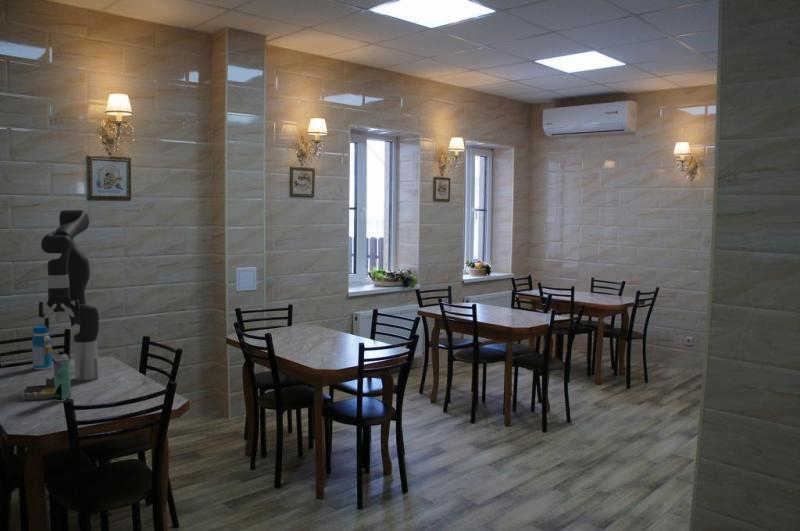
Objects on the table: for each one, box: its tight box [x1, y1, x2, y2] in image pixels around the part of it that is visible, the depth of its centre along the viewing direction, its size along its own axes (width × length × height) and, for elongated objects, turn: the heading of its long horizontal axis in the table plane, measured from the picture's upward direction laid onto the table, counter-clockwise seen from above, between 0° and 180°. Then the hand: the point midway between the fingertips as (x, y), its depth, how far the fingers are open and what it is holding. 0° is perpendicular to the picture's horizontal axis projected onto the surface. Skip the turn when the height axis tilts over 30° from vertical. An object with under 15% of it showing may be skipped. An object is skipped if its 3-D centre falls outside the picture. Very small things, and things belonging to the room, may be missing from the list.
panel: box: [21, 384, 55, 402], centre depth 259 cm, size 15×12×3 cm
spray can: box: [53, 349, 72, 403], centre depth 253 cm, size 6×6×20 cm
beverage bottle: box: [31, 324, 54, 371], centre depth 302 cm, size 8×8×20 cm
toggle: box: [45, 376, 55, 387], centre depth 263 cm, size 3×3×4 cm
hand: (60, 326), depth 251 cm, fingers open, 8 cm apart
